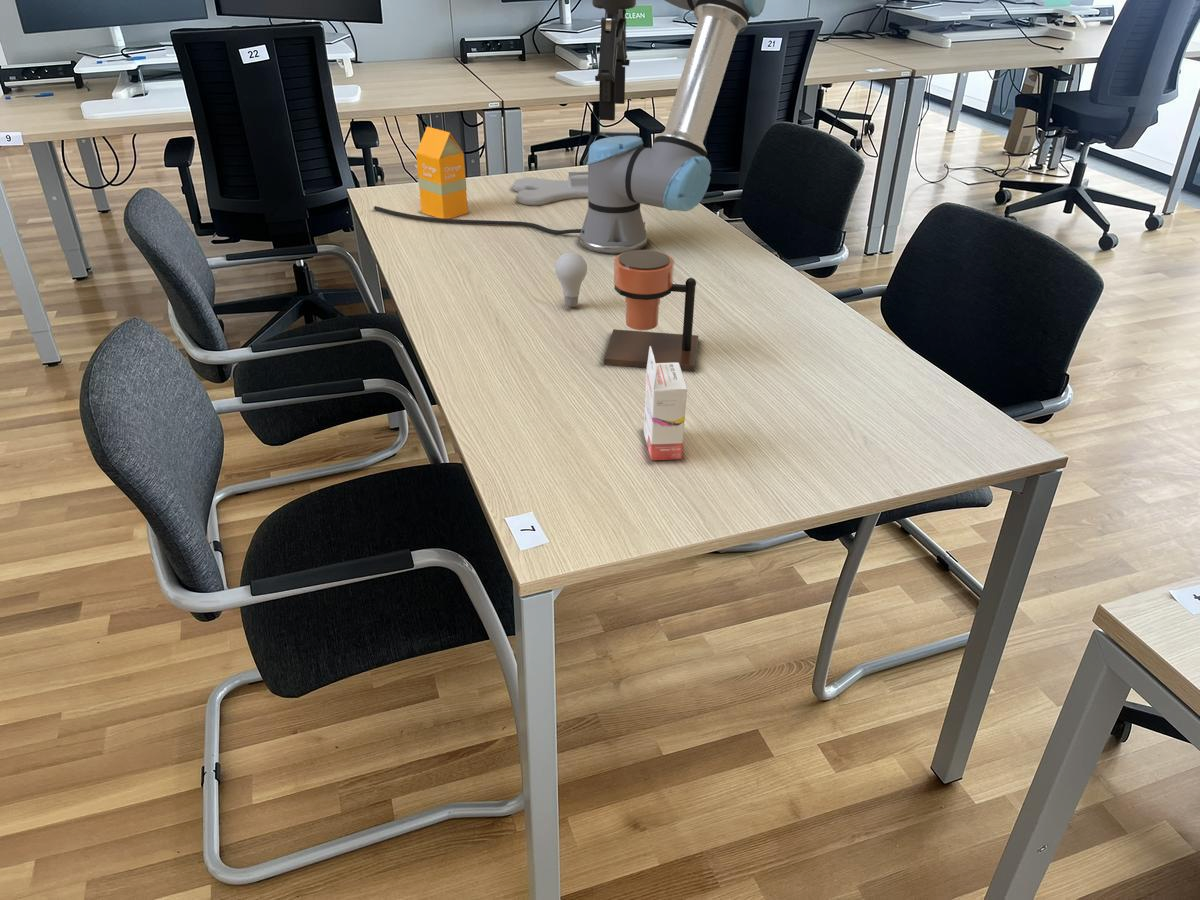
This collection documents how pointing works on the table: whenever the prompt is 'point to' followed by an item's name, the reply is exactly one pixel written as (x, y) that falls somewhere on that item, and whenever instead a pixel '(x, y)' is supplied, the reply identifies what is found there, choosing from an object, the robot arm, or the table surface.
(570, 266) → the lightbulb
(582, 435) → the table surface
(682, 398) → the ink cartridge box
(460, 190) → the orange juice
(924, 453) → the table surface
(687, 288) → the ring stand
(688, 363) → the ring stand base
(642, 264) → the terracotta pot
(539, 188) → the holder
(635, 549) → the table surface
